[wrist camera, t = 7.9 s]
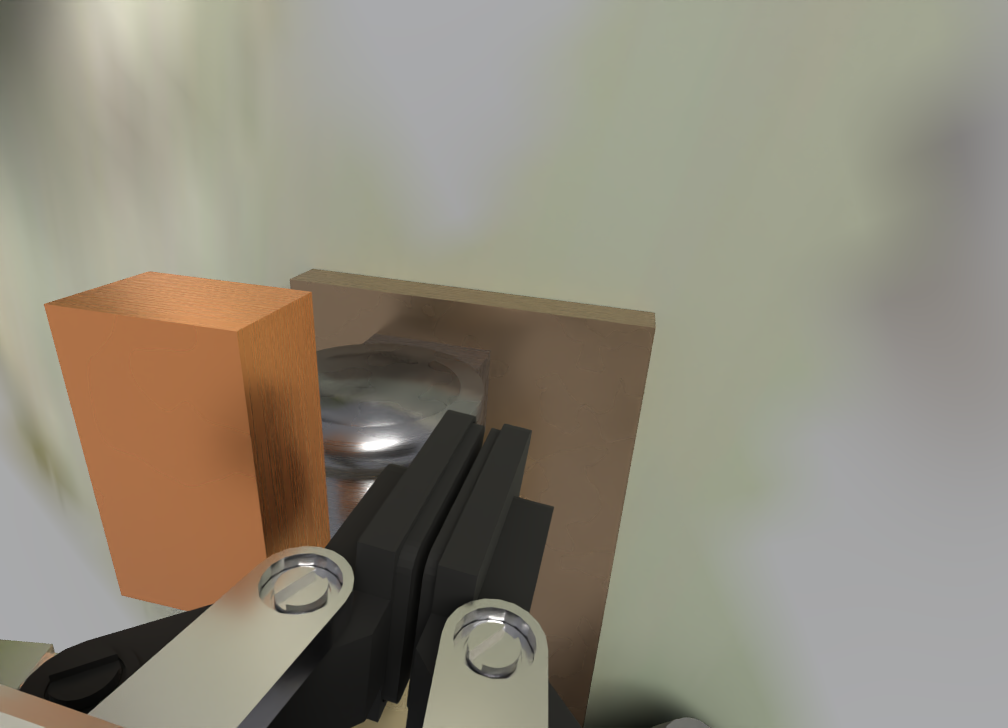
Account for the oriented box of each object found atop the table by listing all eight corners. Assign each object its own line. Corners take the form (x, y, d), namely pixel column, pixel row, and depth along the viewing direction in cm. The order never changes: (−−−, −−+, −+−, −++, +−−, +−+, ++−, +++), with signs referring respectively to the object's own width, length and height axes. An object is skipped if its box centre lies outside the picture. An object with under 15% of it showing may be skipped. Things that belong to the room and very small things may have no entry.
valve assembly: (580, 726, 27) (545, 1066, 17) (338, 665, 29) (186, 939, 19) (654, 312, 19) (667, 515, 9) (312, 268, 21) (30, 397, 11)
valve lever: (354, 850, 14) (317, 943, 13) (251, 820, 15) (204, 905, 13) (311, 291, 9) (236, 331, 7) (149, 271, 9) (43, 304, 8)
